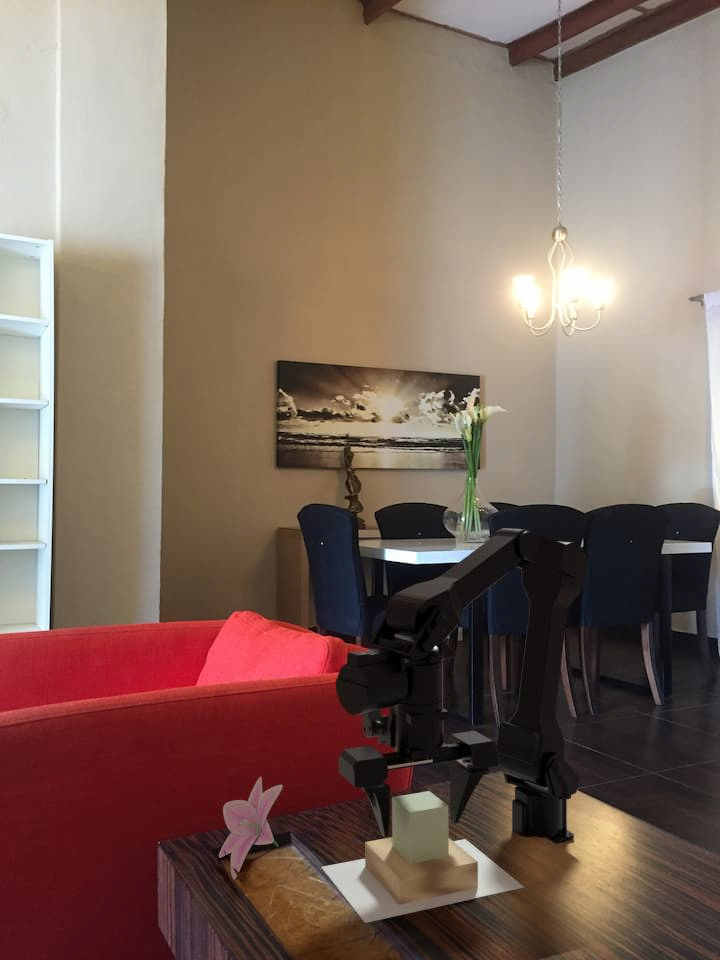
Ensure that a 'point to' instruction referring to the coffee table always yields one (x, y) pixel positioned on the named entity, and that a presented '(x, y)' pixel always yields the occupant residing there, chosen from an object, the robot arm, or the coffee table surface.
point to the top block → (420, 827)
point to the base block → (420, 872)
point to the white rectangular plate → (380, 904)
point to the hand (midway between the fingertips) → (419, 829)
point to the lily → (248, 824)
